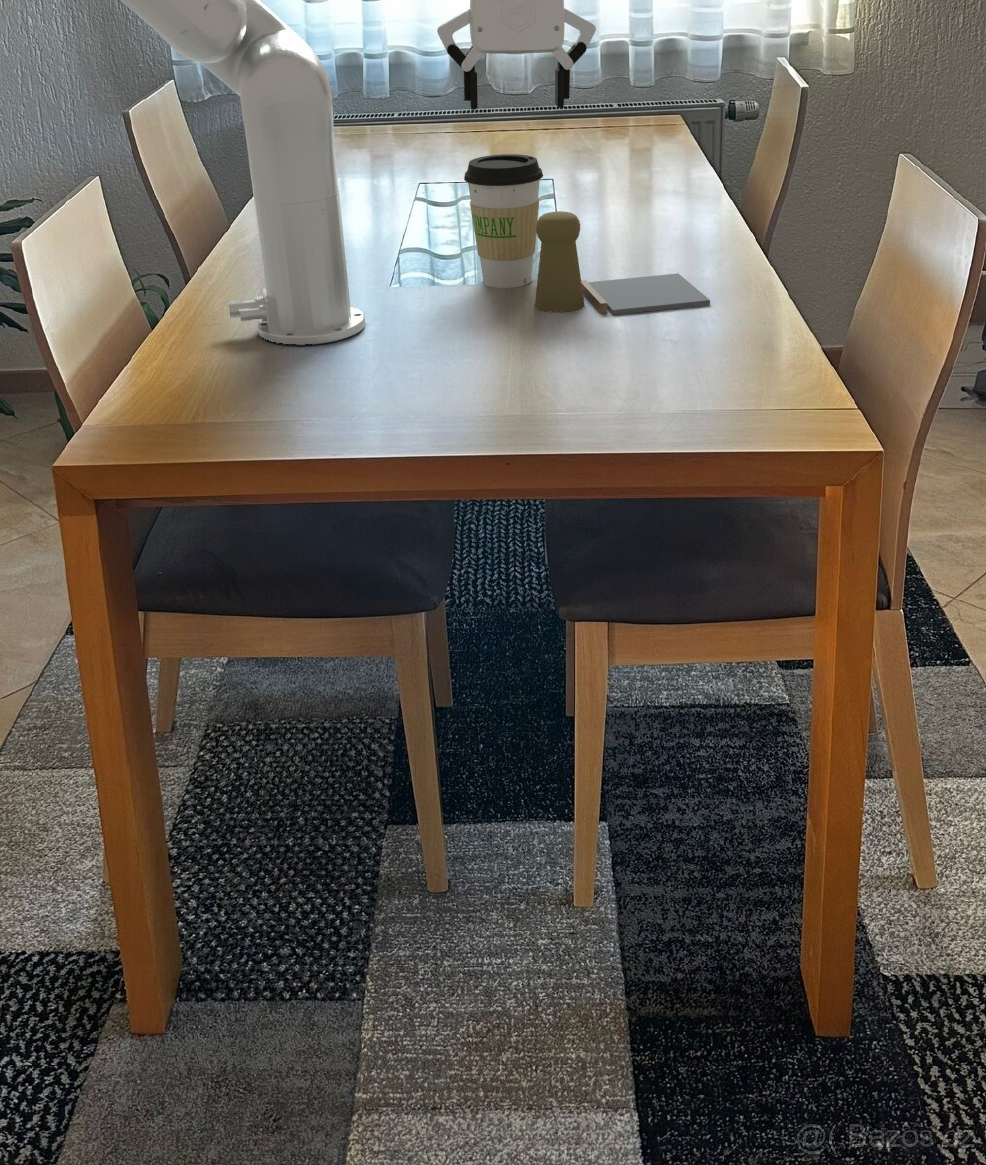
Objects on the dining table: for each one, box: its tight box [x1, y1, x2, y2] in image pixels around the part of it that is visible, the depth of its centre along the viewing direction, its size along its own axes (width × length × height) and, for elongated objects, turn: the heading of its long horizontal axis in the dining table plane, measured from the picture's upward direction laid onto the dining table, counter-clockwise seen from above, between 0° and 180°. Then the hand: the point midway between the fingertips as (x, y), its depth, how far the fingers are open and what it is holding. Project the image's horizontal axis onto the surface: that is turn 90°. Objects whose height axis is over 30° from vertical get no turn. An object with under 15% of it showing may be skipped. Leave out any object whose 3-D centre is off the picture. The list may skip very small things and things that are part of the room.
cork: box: [534, 210, 585, 313], centre depth 154 cm, size 6×6×11 cm
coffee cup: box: [463, 153, 544, 289], centre depth 162 cm, size 10×10×15 cm
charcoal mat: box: [587, 272, 711, 316], centre depth 158 cm, size 12×12×1 cm
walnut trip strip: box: [581, 279, 608, 314], centre depth 157 cm, size 1×10×1 cm, turn 11°
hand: (516, 106), depth 144 cm, fingers open, 9 cm apart
